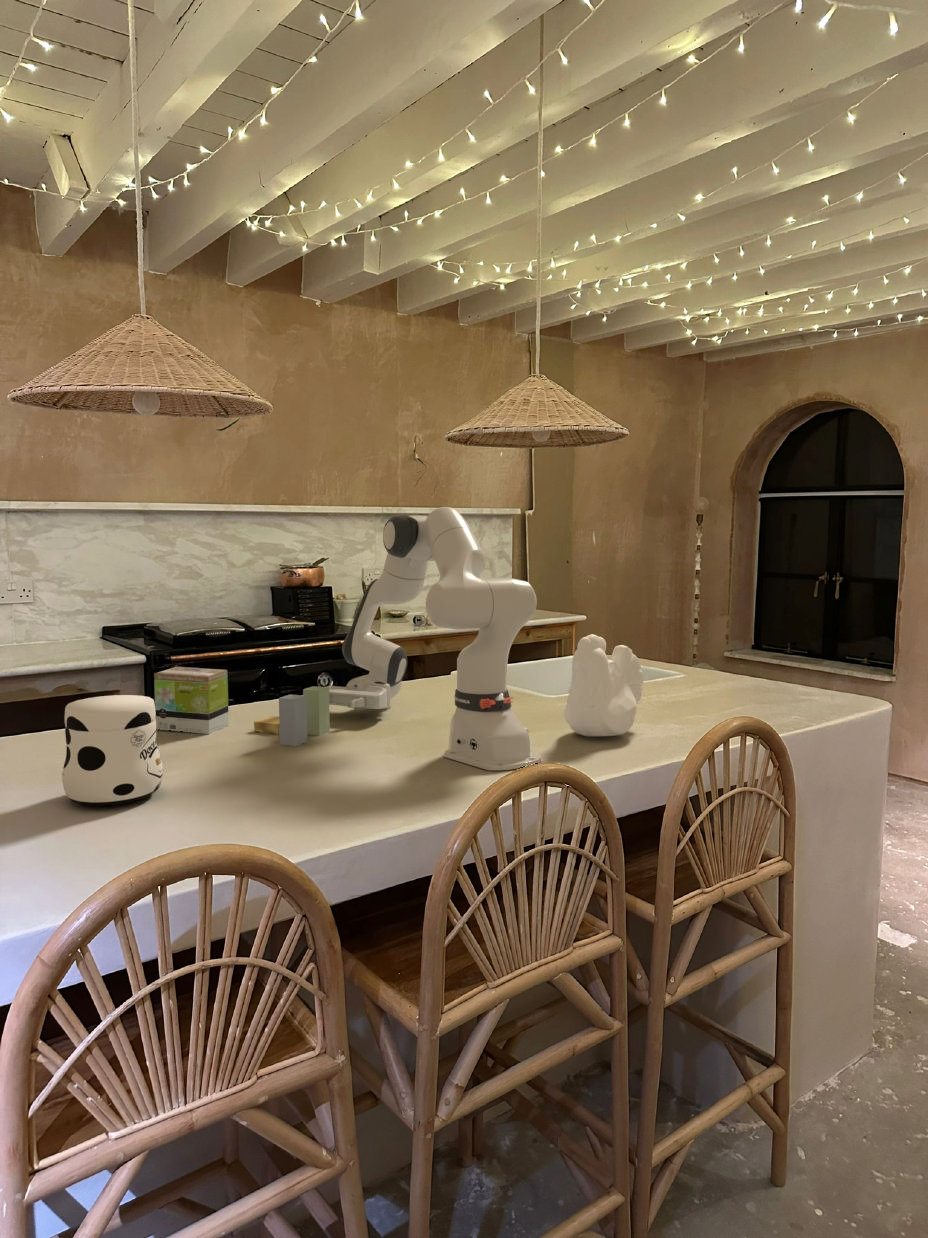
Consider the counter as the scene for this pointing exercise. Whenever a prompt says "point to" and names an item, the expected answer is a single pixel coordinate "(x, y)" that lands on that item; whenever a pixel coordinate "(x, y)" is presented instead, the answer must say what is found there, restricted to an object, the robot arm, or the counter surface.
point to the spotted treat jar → (111, 750)
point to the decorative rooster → (603, 689)
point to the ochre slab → (267, 725)
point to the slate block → (293, 720)
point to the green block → (317, 710)
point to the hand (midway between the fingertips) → (333, 703)
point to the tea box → (191, 699)
